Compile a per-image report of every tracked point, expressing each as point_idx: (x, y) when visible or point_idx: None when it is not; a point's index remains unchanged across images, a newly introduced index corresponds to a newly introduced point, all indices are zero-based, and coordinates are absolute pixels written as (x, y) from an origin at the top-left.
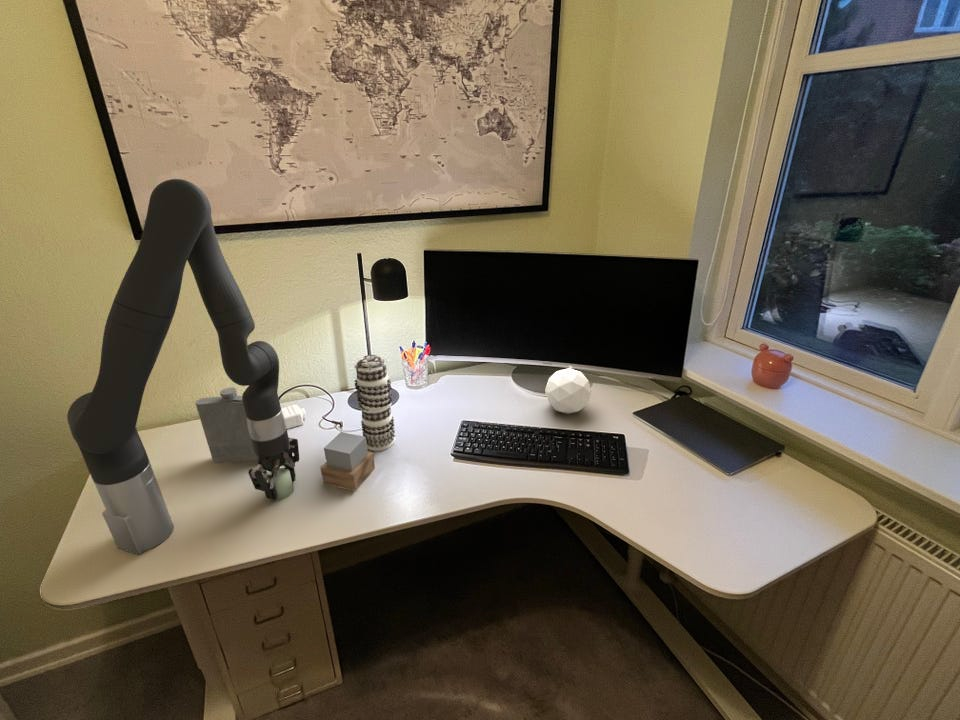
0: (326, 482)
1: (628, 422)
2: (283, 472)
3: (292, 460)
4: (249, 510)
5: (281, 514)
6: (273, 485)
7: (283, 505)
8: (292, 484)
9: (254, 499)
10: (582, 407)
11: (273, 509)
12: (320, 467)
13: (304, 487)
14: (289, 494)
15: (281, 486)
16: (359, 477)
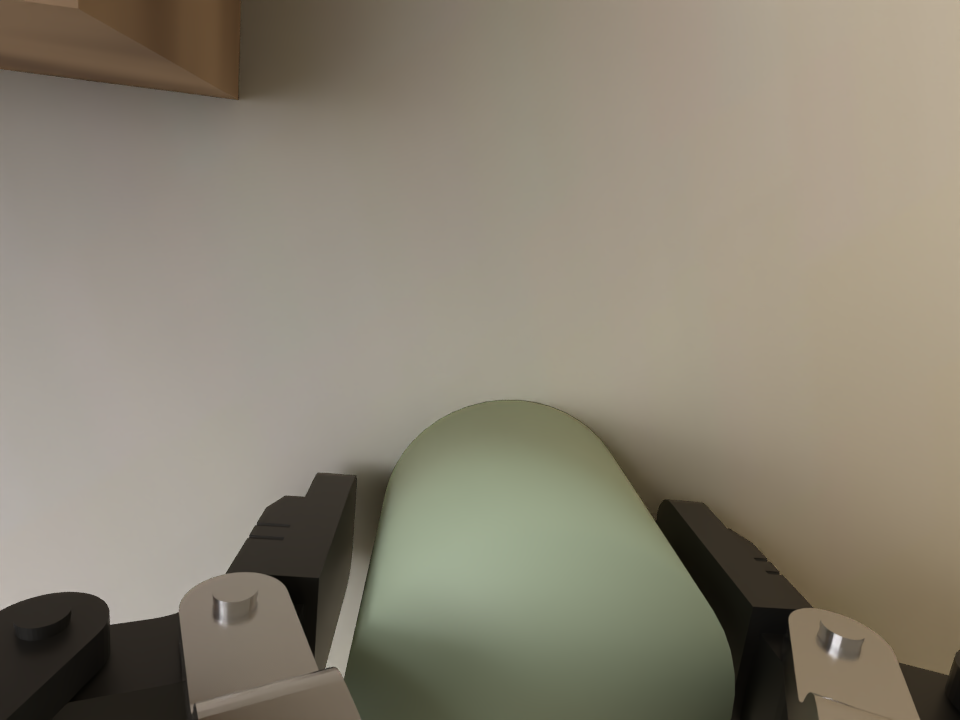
0: (230, 27)
1: None
2: (462, 662)
3: (133, 703)
4: None
5: (848, 321)
6: (799, 626)
7: (711, 381)
8: (448, 444)
9: None
10: None
11: (782, 450)
12: (78, 6)
13: (378, 310)
14: (550, 409)
15: (652, 522)
16: None
